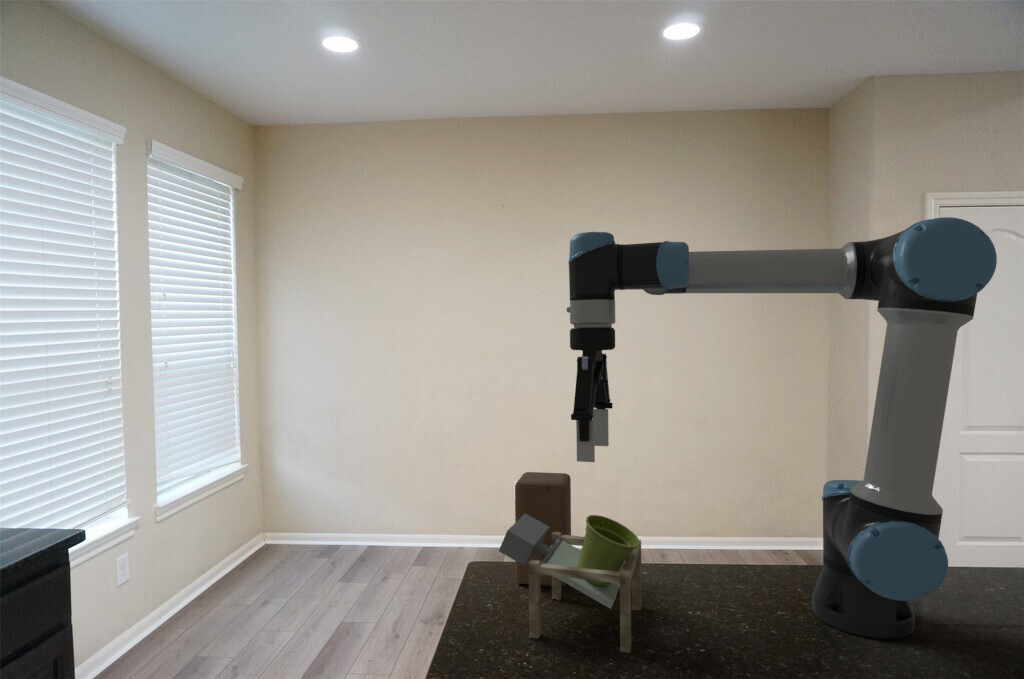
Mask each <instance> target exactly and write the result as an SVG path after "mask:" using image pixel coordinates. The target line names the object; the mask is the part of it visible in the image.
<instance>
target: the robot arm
mask: <svg viewBox="0 0 1024 679" xmlns="http://www.w3.org/2000/svg"><path fill="white" fill-rule="evenodd" d="M568 255H569V256H568V258H569V259H568V262H567V264H568V281H569V283H568V284H569V305H570V306H567V308H566V313H570V314H569V323H570V324H571V326H573V328H570V330H569V348H570V350H573V351H582V356H577V358H576V379H575V392H574V402H573V412H572V413H571V414H570V419H571V421H576V432H575V433H576V462H583V463H584V462H585V463H595V462H596V461H595V460H596V459H595V456H596V454H595V452H596V450H595V448H596V447H609V409H611V410H612V409H613V402H611V396H610V389H609V377H608V367H607V364H608V363H607V358H608V356H607V353H603V351H612V350H614V349H616V330H615V328H614V327H613V326H612V325H614V324H615V323H616V299H615V298H616V297H615V296H616V295H615V293H616V291H627V290H642V291H643V292H645V293H646V294H649V295H651V296H653V295H654V296H662V295H663V296H664V295H666V294H669V295H670V294H678V295H679V294H838V295H840V296H841V297H842V298H843V299H845V300H863V301H864V300H867V301H875V302H878V303H877V308H876V310H877V312H878V314H880V315H881V317H882V318H883V319H884V320H885V322H886V330H885V337H884V343H883V350H882V356H881V362H880V368H879V374H878V375H879V376H878V381H877V389H876V396H875V402H874V407H873V408H874V409H873V415H872V416H873V417H872V423H871V428H870V435H869V441H868V449H867V455H866V462H865V469H864V474H863V479H862V480H856V479H853V480H852V479H833V480H832V479H831V480H829V481H826V482H825V483H824V484H823V487H822V488H823V489H822V491H823V492H822V496H821V500H822V543H823V544H822V547H823V548H822V554H823V555H822V556H823V557H822V561H823V562H822V563H823V564H822V568H821V571H820V573H819V576H818V578H817V581H816V584H815V587H814V590H813V592H812V596H811V610H812V612H813V614H814V615H815V616H816V617H817V618H818V619H819V620H821V621H822V622H824V623H825V624H827V625H829V626H831V627H833V628H836V629H837V630H841V631H843V632H846V633H850V634H854V635H857V636H861V637H868V638H874V639H882V640H883V639H901V638H905V637H906V638H907V637H908V636H910V635H913V633H914V632H915V630H916V614H915V611H914V607H913V604H912V602H911V601H915V600H919V599H922V598H923V597H927V596H928V595H930V594H932V593H935V591H937V590H938V589H939V588H940V587H941V585H943V583H944V581H945V580H946V577H947V574H948V571H949V558H948V555H947V552H946V548H945V546H944V545H943V543H942V542H941V540H940V539H939V537H940V532H941V526H942V518H943V513H944V510H943V509H944V508H942V506H941V505H940V504H939V502H938V501H937V500H936V499H935V498H934V496H933V489H934V484H935V476H936V471H937V466H938V465H937V464H938V460H939V452H940V446H941V439H942V433H943V426H944V420H945V414H946V407H947V401H948V395H949V389H950V383H951V376H952V369H953V362H954V356H955V352H956V343H957V338H958V331H959V330H960V328H961V327H963V326H964V325H966V324H968V323H969V322H971V321H973V320H974V317H975V316H974V315H975V311H976V304H977V297H978V293H980V292H981V291H982V290H983V289H985V287H986V286H987V285H988V284H989V283H990V281H991V280H992V278H993V277H994V274H995V272H996V268H997V263H998V257H997V251H996V248H995V245H994V243H993V241H992V239H991V238H990V236H989V235H988V234H987V233H985V231H984V230H982V228H981V227H980V226H978V225H976V224H975V223H973V222H970V221H968V220H965V219H962V218H957V217H952V216H951V217H950V216H948V217H945V216H944V217H943V216H942V217H935V218H929V219H923V220H921V221H918V222H916V223H915V222H914V223H913V224H912V225H910V226H908V227H906V228H905V229H904V230H901V231H899V232H897V233H894V234H892V235H889V236H885V237H883V238H877V239H872V240H865V241H848V242H847V243H845V244H844V245H842V247H840V248H808V249H807V248H801V249H799V248H798V249H765V250H764V249H760V250H759V249H755V250H752V249H751V250H711V251H707V250H705V251H704V250H703V251H702V250H701V251H690V248H689V245H688V243H687V242H684V241H669V240H664V241H661V242H659V241H658V242H644V243H643V242H642V243H629V244H624V243H623V244H620V243H616V241H615V236H614V234H612V233H610V232H606V231H587V232H579V233H577V234H574V235H573V236H572V237H571V239H570V241H569V254H568Z"/></svg>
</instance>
